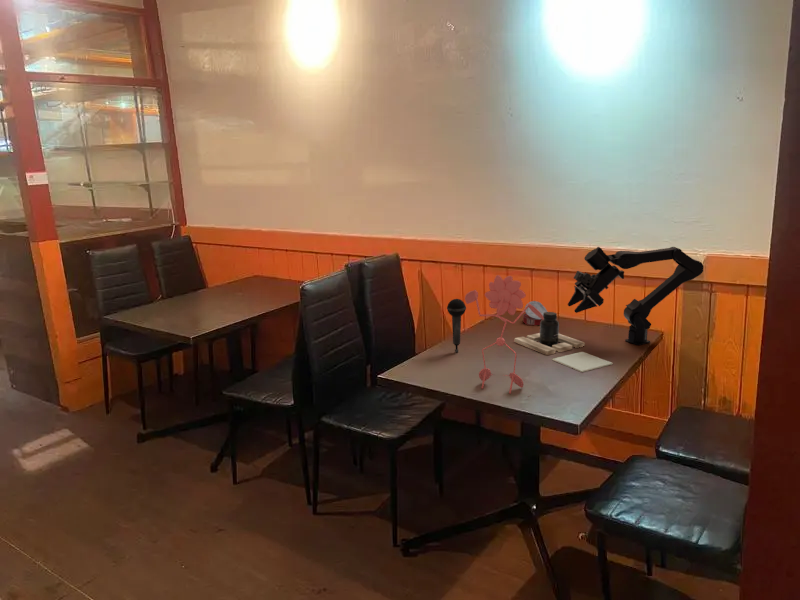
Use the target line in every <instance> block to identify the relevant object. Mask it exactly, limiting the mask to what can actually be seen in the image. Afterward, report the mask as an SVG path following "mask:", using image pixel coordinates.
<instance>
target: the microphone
mask: <svg viewBox="0 0 800 600" xmlns="http://www.w3.org/2000/svg"><path fill="white" fill-rule="evenodd" d="M466 306H467V305H466V303H465V302H464V301H463V300H462V299H459V298H453V299H451V300H449V302H448V304H447V306H446V309H447V313H448V314H449V315H450V316H451V322H452V323H451V326H452V344H453V345H454V346H455V349H454V352H455V353H459V348H458V346H459V345H460V344H461V329H462V316H463V315H464V314H465V312H466V310H467V307H466Z"/></svg>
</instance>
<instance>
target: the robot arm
mask: <svg viewBox="0 0 800 600" xmlns="http://www.w3.org/2000/svg"><path fill="white" fill-rule="evenodd" d="M669 260H673V261H674V262H675V263H676V264H677V266H676V268H675V269H674V272H673V273H672V274H671V275H670V276H669V277H668V278H667V279H665V280H664V281H662V282H661V284H659V285H658V286H657V287H655V289H653V290H652V291H651V292H650V293H649V294H647V295H646V296H645V297H643V298H642V299H640V300H638V299H636V298H634V299H632V300H631V302H630V303H628V304H626V305H625V306H626V307H624V309H623V317H624V319H626V320H627V323H628V324H630V325H629V328H628V329H629V330H628V335H627V337H628V338H626V339H624V341H625V342H628V343H631V344H633V345H637V346H641V345H645V344H649V343H651V340H649V339H648V332H649V331H648V330H650V329H651V327H652V322H650V321H649V320H648V319H647V318H648V317H649V315H650V314H651V311H652V310H653V308H655V307H656V306H657V305H659V303H661V302H662V301H663V300H664V299H665V298H667V297H668V296H669V295H670V294H671V293H672V292H674V291H675V290H676V289H677V288H679V287H680V286H681V285H682V284H684V283H686V282H689V281H693V279H696V278H698V277H699V276H701V275H702V274H703V272H704V264H703V263H702V262H701V261H699V260H697V259H694V258H692V257H691V256H689V255H688V254H686V253H685V252H684V251H683V250H682V249H681V248H678V247H675V246H671V247H666V248H660V249H659V248H657V249H651V250H644V251H631V250H619V251H616V252H615V253H614V254H606V253H605V252H604V250H603V249H602V248H601V247H600V246H597V247H596V248H594V249H592V250H591V251H588V253H586V255H585V256H584V261H585V262H586V263H587V264H589V266H590V267H591V268H592V269H593V270H595V271H598V272H597V273H596V274H594V273H593V274H590V273H588V272H582V271H579V270H576V272H575V274H574V276H573V279H575V281H576V282H575V283H574V286H573V287H574V292H573V294H572V296H571V298H570V300H568V303H567V306H568V307H572V306H574V305H576V304H578V303H579V304H578V305H577V307H576V308H575V309H574V313H575V314H577V313H580V312H583V311H585V310H586V311H587V310H589V309H593V308H596V307H601V306H602V305H603V304H604V301H605V299H604V298H603V297H602V296H601V294H600V293H602V292H603V290H608V289H609V285H610V284H611V283H612V282H613V281H614V280H615V279H616V278H620V279H622V280H623V279H625V271H624V270H628V269H632V268H635V267H637V266H639V265H642V264H646V263H654V262H661V261H669ZM610 263H611V264H613V265H611V264H610ZM618 267H619V268H621V269H623V270H620V269H619V268H618Z"/></svg>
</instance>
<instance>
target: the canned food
mask: <svg viewBox="0 0 800 600" xmlns="http://www.w3.org/2000/svg"><path fill="white" fill-rule="evenodd" d="M528 303H530V304H531V305H532V306H534V307H535V308H536V309H537V310H538V311H539V312H540V313H541V314H542V315H543V313H544V312H548V310H547V308H546V307H545V306H544V305H543V304H542V302H540V301H536V300H532V301H529V302H528ZM528 303H526V305H525V307H524V309H525V308H526V307H527V305H528ZM522 316H523V317H522V319H523V320H522V321H523V322H524V323H525V324H524V323H523V322H522V323H523V324H524V325H527V326H532V325H534V327H536V326H535V325H540V322H541V320H542V319H541V318H540V317H538V316H537V315H536V314H535V313H533V312H532V311H531V309H530V308H529V307H528V308H527V309H526V311H525V312H524V313H523V314H522Z"/></svg>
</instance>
